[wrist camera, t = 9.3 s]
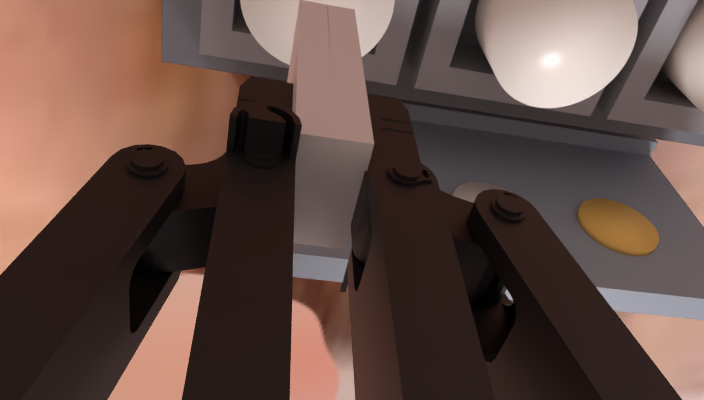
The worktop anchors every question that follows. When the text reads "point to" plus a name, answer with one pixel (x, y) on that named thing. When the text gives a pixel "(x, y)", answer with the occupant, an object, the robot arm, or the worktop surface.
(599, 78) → the button
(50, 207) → the worktop surface
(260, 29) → the button
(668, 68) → the button
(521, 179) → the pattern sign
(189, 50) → the button board
